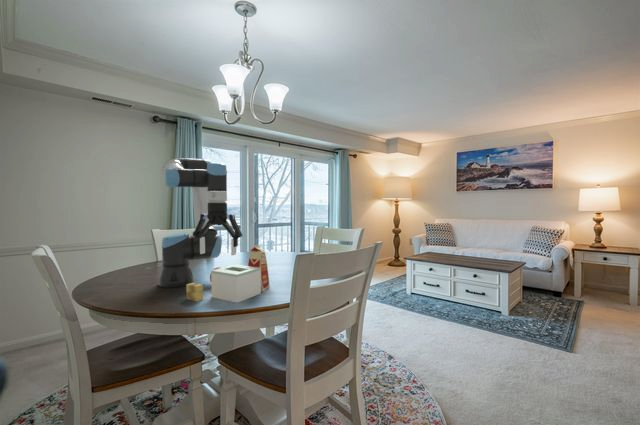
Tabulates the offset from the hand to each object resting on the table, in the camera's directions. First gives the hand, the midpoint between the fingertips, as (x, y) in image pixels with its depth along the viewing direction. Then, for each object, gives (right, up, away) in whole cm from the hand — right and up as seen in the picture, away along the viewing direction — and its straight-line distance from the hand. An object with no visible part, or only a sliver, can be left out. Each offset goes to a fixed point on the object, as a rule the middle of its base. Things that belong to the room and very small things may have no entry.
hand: (217, 254), depth 136 cm
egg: (-5, -17, +17) cm, 25 cm away
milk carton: (+13, -17, +14) cm, 26 cm away
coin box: (+7, -17, +2) cm, 19 cm away
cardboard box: (-8, -18, -3) cm, 20 cm away
